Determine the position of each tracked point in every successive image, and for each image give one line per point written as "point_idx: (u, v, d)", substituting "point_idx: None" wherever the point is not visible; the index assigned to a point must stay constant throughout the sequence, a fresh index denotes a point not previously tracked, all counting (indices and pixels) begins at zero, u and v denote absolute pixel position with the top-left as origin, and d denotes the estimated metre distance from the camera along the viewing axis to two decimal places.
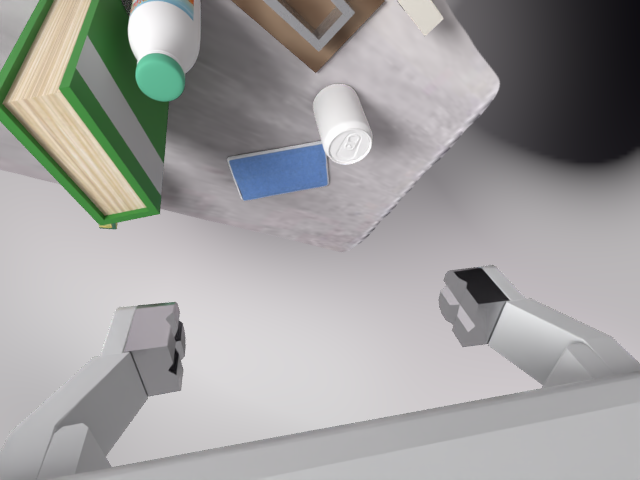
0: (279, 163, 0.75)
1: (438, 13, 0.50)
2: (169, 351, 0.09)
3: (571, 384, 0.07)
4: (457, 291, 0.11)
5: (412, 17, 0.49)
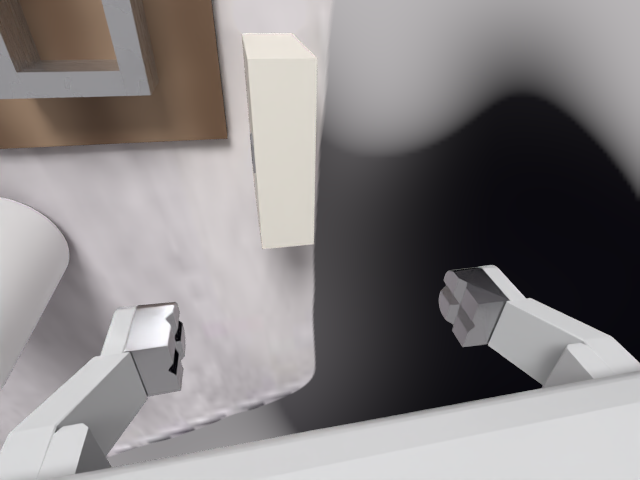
0: None
1: (311, 227, 0.22)
2: (169, 351, 0.09)
3: (571, 384, 0.07)
4: (457, 291, 0.11)
5: (262, 195, 0.20)
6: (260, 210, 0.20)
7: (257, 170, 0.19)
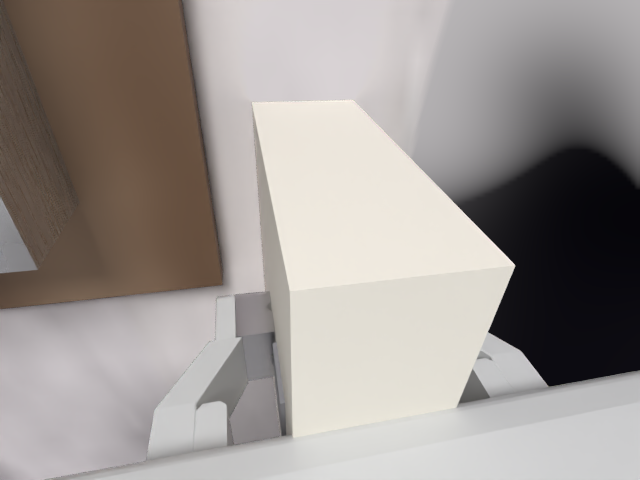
0: None
1: None
2: (275, 336, 0.09)
3: (571, 384, 0.07)
4: None
5: None
6: None
7: None
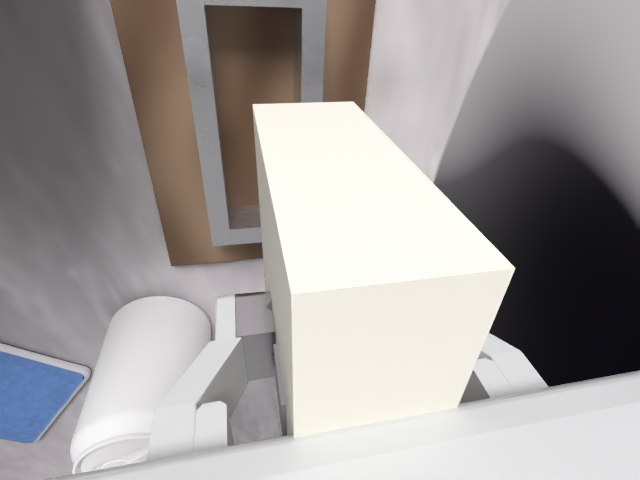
0: None
1: None
2: (275, 336, 0.09)
3: (571, 384, 0.07)
4: None
5: None
6: None
7: None
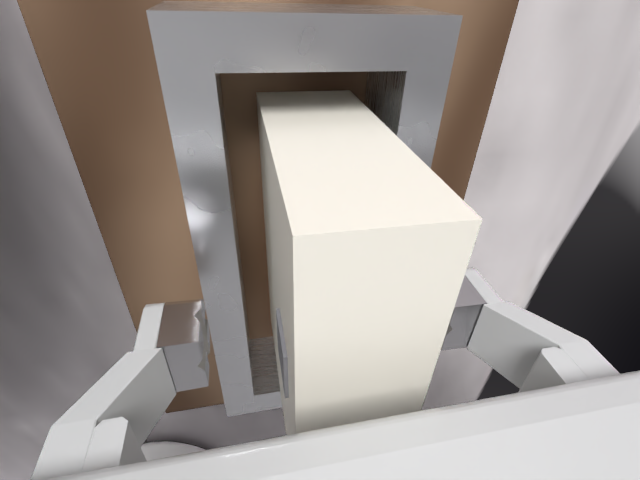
0: None
1: None
2: (199, 347, 0.09)
3: (571, 384, 0.07)
4: None
5: None
6: None
7: (298, 427, 0.08)
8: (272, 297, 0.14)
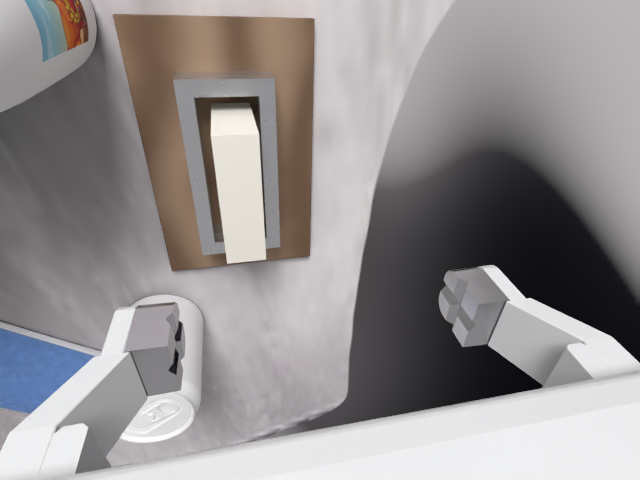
0: None
1: (263, 247, 0.29)
2: (169, 351, 0.09)
3: (571, 384, 0.07)
4: (457, 291, 0.11)
5: (225, 225, 0.27)
6: (224, 235, 0.28)
7: (220, 207, 0.27)
8: None
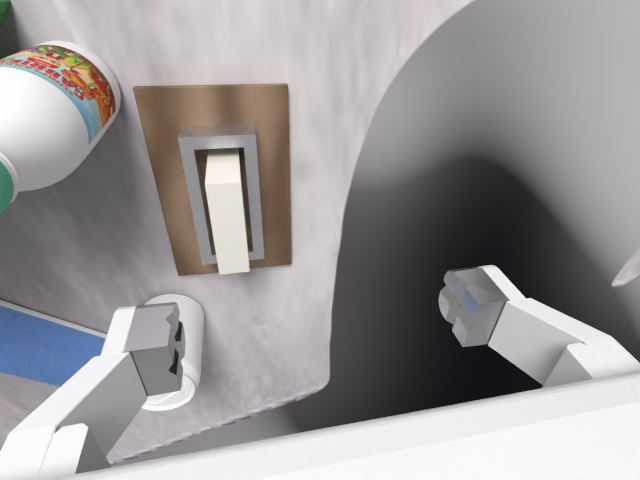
0: (40, 336, 0.48)
1: (247, 262, 0.38)
2: (169, 351, 0.09)
3: (571, 384, 0.07)
4: (457, 291, 0.11)
5: (217, 246, 0.36)
6: (216, 254, 0.37)
7: (213, 234, 0.35)
8: None
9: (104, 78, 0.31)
